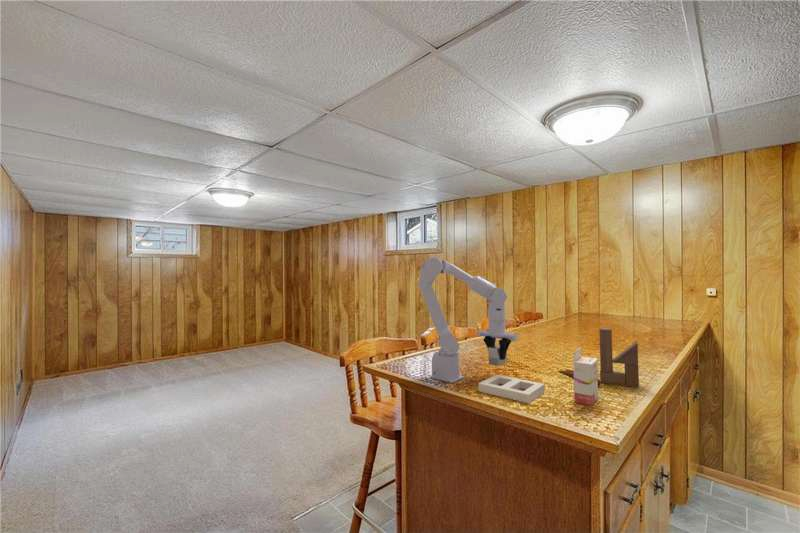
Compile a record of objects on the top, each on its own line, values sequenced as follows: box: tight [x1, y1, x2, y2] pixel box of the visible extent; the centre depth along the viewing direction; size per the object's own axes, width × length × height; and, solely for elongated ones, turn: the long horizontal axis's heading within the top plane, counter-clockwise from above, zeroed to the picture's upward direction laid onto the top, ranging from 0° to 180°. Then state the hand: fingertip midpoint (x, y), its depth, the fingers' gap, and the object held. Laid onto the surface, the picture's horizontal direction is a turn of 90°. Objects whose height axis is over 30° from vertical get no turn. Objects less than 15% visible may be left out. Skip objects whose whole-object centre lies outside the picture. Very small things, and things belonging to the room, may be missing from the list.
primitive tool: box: [557, 369, 602, 388], centre depth 122 cm, size 19×6×4 cm, turn 7°
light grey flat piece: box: [477, 373, 546, 404], centre depth 111 cm, size 16×12×2 cm
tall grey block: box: [487, 343, 508, 367], centre depth 126 cm, size 4×7×6 cm, turn 137°
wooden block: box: [598, 327, 640, 388], centre depth 116 cm, size 4×11×18 cm, turn 61°
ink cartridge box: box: [572, 346, 599, 407], centre depth 103 cm, size 9×5×15 cm, turn 141°
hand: (497, 358), depth 126 cm, fingers closed on tall grey block, 3 cm apart
